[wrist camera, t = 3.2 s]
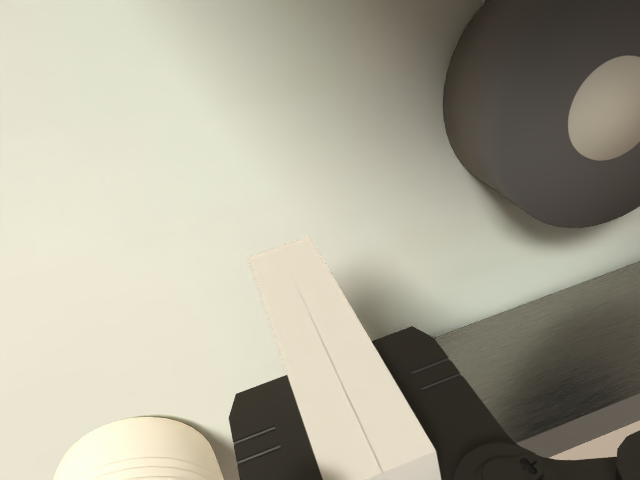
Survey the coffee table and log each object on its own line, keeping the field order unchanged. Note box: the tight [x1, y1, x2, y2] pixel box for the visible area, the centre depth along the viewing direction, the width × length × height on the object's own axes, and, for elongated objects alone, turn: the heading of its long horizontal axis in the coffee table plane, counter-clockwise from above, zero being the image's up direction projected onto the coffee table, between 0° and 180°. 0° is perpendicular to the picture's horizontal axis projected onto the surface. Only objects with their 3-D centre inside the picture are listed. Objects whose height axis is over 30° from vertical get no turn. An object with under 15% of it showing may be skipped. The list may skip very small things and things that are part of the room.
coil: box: [443, 0, 640, 228], centre depth 19 cm, size 8×8×4 cm
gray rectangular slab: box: [434, 262, 640, 458], centre depth 22 cm, size 18×2×7 cm, turn 103°
